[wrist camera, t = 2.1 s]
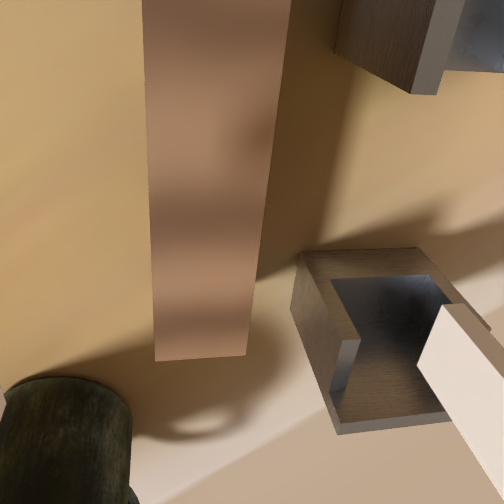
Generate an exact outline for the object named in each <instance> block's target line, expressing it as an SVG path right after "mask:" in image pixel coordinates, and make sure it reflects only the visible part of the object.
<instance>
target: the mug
mask: <svg viewBox="0 0 504 504" xmlns="http://www.w3.org/2000/svg"><path fill="white" fill-rule="evenodd" d="M4 398H5V401H6V406H5V409H4V412H3V415H2V418H1V420H0V504H140V503H139V501H138V498H137V496H136V494H135V493H134V491H133V490H132V488H131V487H130V486H129V478H130V460H131V442H132V416H131V413H130V411H129V409H128V407H127V406H126V404H125V403H124V402H123V400H122V399H121V398H120V397H119V396H118V395H117V394H115V393H114V392H113V391H111V390H110V389H108V388H106V387H104V386H102V385H100V384H97V383H95V382H91V381H88V380H84V379H78V378H69V377H50V378H43V379H37V380H33V381H29V382H26V383H24V384H21V385H18V386H17V387H15V388H13V389H11V390H10V391H8V392H7V393H5V394H4Z"/></svg>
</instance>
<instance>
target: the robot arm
mask: <svg viewBox="0 0 504 504" xmlns="http://www.w3.org/2000/svg"><path fill="white" fill-rule="evenodd" d="M417 367H418V368H419V370H420V371H421V373H422V374H423V376H424V377H425V379H426V380H427V382H428V384H429V385H430V387H431V388H432V390H433V391H434V393H435V394H436V396H437V398H438V399H439V401H440V402H441V404H442V405H443V407H444V408H445V410H446V412H447V413H448V415H449V416H450V418H451V419H452V421H453V422H454V424H455V425H456V427H457V429H458V430H459V432H460V433H461V435H462V436H463V438H464V440H465V441H466V443H467V444H468V446H469V447H470V449H471V450H472V452H473V454H474V455H475V457H476V458H477V460H478V461H479V463H480V464H481V466H482V467H483V469H484V471H485V472H486V474H487V475H488V477H489V478H490V480H491V481H492V483H493V485H494V486H495V488H496V489H497V491H498V492H499V494H500V495H501V497H502V499H503V500H504V348H503V346H501V344H500V343H499V342H498V341H497V340H496V339H495V338H494V337H493V335H492V334H491V333H490V332H489V331H488V330H487V329H486V328H485V326H484V325H483V324H482V323H481V322H480V321H479V320H478V319H477V318H476V316H475V315H474V314H473V313H472V312H471V311H470V310H469V309H468V308H467V306H466V305H465V304H464V303H460V304H445V305H442V306H441V308H440V311H439V313H438V316H437V318H436V320H435V323H434V325H433V328H432V330H431V332H430V335H429V337H428V340H427V342H426V344H425V347H424V349H423V352H422V354H421V356H420V359H419V361H418V364H417ZM5 406H6V401H5V398H4V395H3V392H2V390H1V387H0V420H1V418H2V415H3V412H4V409H5Z"/></svg>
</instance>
